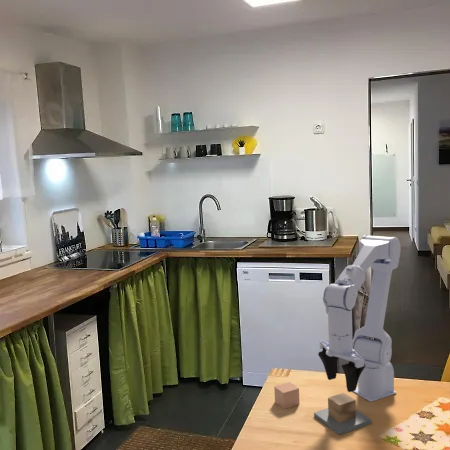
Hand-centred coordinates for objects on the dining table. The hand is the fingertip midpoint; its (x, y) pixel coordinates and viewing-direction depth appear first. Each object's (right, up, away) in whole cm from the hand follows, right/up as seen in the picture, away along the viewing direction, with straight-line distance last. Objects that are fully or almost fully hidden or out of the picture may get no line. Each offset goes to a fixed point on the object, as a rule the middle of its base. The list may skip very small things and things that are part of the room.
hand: (341, 384), depth 124 cm
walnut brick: (0, -8, +1) cm, 8 cm away
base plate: (+1, -9, +1) cm, 9 cm away
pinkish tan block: (-12, -9, +11) cm, 19 cm away
